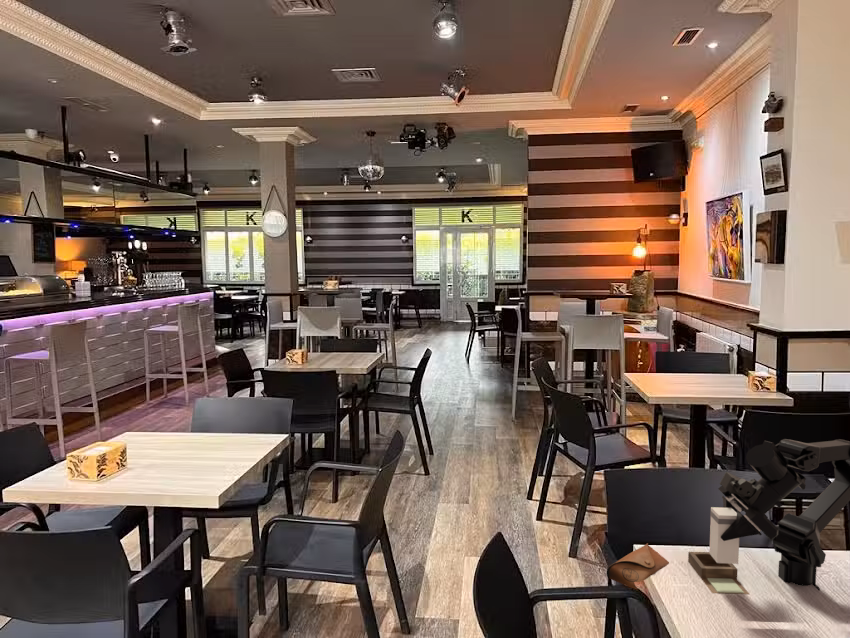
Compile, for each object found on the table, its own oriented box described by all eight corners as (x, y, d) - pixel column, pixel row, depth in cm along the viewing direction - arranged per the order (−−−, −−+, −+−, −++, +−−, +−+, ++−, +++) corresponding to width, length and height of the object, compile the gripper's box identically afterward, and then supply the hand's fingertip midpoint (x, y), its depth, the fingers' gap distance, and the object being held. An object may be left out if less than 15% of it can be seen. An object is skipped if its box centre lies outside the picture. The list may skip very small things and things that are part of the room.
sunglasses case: (639, 591, 132) (626, 561, 134) (614, 595, 137) (602, 566, 139) (676, 564, 144) (663, 537, 146) (652, 569, 149) (640, 543, 151)
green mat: (732, 579, 135) (732, 578, 135) (743, 593, 129) (743, 592, 129) (707, 579, 135) (707, 578, 135) (717, 592, 130) (717, 591, 130)
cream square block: (729, 554, 135) (731, 507, 134) (738, 564, 130) (740, 516, 130) (709, 553, 135) (710, 507, 135) (716, 563, 131) (718, 515, 130)
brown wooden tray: (721, 566, 143) (722, 552, 143) (749, 598, 129) (750, 583, 129) (688, 565, 144) (688, 551, 143) (712, 597, 130) (712, 582, 129)
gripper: (728, 450, 140) (679, 493, 142) (765, 477, 121) (707, 526, 123) (762, 483, 140) (712, 526, 142) (803, 515, 121) (745, 564, 123)
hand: (717, 534), depth 133 cm, fingers closed on cream square block, 4 cm apart
